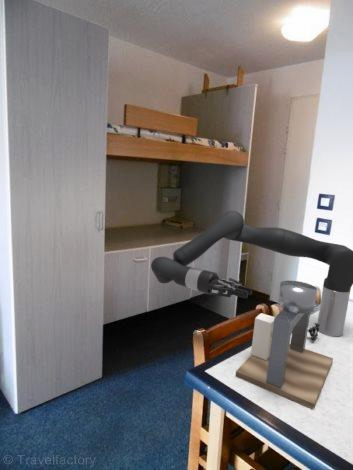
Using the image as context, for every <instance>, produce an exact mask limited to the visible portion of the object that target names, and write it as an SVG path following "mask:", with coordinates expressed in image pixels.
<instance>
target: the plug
mask: <svg viewBox="0 0 353 470" xmlns="http://www.w3.org/2000/svg"><path fill="white" fill-rule="evenodd" d="M275 317H276V316H272V315H268V314H266V313H262V312H261V313H259V314H257V316H255V318H254V324H253V325H254V326H253V333H252V341H251V351H250V356H251V355H254V356H256V357H259V358H262V359H264V360H267V359H268V358H269V355H270V348H271V340H272V333H273V325H274V318H275Z"/></svg>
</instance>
